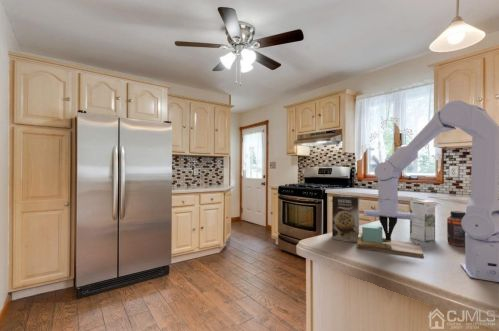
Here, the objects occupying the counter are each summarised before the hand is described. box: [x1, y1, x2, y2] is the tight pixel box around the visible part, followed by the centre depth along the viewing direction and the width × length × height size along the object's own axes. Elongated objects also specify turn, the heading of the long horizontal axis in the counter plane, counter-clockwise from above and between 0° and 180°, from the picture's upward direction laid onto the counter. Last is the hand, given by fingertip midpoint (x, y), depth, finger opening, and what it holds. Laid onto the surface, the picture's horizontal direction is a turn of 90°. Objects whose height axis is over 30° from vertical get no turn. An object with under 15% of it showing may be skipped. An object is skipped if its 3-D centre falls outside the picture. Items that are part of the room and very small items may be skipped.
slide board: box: [357, 230, 425, 259], centre depth 84 cm, size 12×18×4 cm, turn 61°
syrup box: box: [409, 198, 437, 242], centre depth 93 cm, size 6×6×14 cm
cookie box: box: [331, 194, 360, 243], centre depth 94 cm, size 9×6×16 cm
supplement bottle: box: [446, 210, 466, 248], centre depth 87 cm, size 6×6×11 cm
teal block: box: [361, 224, 383, 243], centre depth 85 cm, size 4×6×6 cm
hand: (388, 239), depth 84 cm, fingers closed
